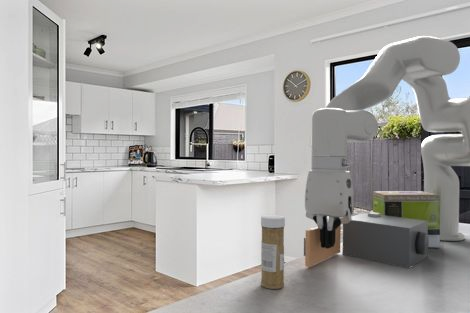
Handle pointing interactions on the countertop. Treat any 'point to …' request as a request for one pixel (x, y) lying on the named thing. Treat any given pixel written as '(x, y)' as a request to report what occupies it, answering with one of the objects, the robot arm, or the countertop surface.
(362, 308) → the countertop surface
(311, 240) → the door
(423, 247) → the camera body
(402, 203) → the tea box
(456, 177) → the robot arm
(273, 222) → the sprinkles bottle
